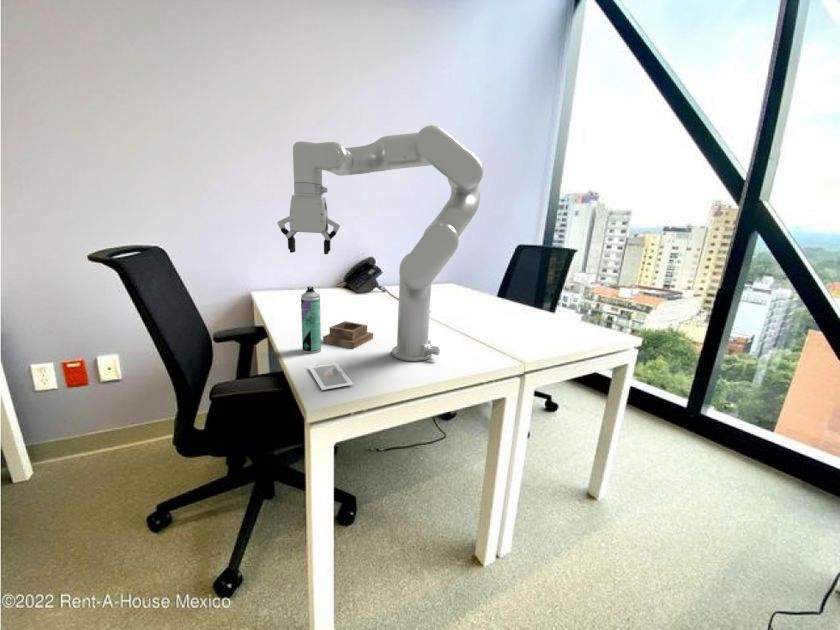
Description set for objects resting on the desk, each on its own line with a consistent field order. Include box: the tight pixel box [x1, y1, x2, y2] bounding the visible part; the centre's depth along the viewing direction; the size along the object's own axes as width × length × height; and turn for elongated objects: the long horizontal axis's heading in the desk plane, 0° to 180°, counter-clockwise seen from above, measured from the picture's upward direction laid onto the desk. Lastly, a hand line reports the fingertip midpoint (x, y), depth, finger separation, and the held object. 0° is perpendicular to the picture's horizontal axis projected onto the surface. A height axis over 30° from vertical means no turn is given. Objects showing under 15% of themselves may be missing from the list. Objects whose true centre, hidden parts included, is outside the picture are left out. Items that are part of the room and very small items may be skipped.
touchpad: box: [307, 362, 354, 391], centre depth 97 cm, size 8×15×2 cm, turn 28°
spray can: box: [300, 286, 322, 355], centre depth 113 cm, size 6×6×20 cm
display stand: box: [322, 320, 374, 349], centre depth 126 cm, size 12×12×5 cm
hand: (309, 253), depth 108 cm, fingers open, 9 cm apart
